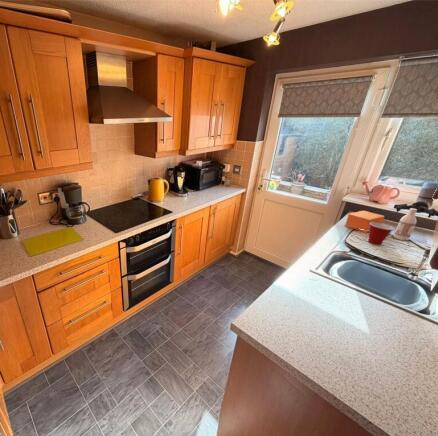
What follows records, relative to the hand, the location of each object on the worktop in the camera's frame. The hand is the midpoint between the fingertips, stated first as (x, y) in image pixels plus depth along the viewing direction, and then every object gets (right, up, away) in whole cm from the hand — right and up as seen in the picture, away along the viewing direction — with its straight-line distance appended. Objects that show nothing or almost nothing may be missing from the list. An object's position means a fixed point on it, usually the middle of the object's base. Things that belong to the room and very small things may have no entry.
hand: (413, 212), depth 144 cm
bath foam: (-4, -17, +4) cm, 17 cm away
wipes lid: (-13, -2, +17) cm, 22 cm away
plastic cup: (-26, -19, -2) cm, 32 cm away
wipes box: (-13, -10, +21) cm, 26 cm away
